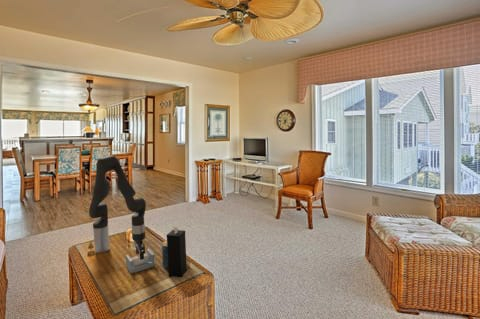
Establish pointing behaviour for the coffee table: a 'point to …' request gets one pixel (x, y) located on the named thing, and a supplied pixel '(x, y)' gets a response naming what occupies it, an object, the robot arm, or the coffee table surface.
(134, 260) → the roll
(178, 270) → the long black block
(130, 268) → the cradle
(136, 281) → the coffee table surface
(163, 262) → the canister
